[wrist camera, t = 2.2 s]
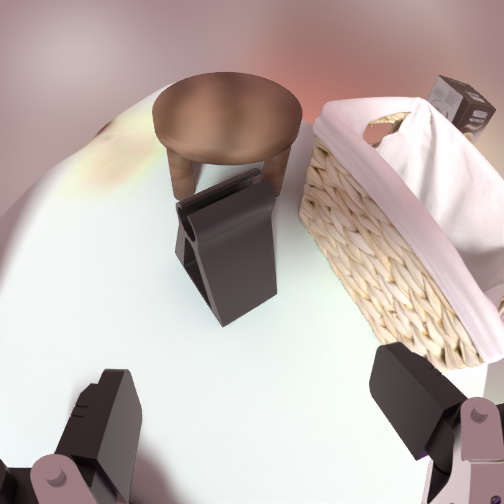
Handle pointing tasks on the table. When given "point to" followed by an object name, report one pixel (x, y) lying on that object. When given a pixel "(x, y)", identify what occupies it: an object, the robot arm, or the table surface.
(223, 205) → the phone stand
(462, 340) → the storage basket
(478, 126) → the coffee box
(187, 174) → the stool
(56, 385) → the table surface
